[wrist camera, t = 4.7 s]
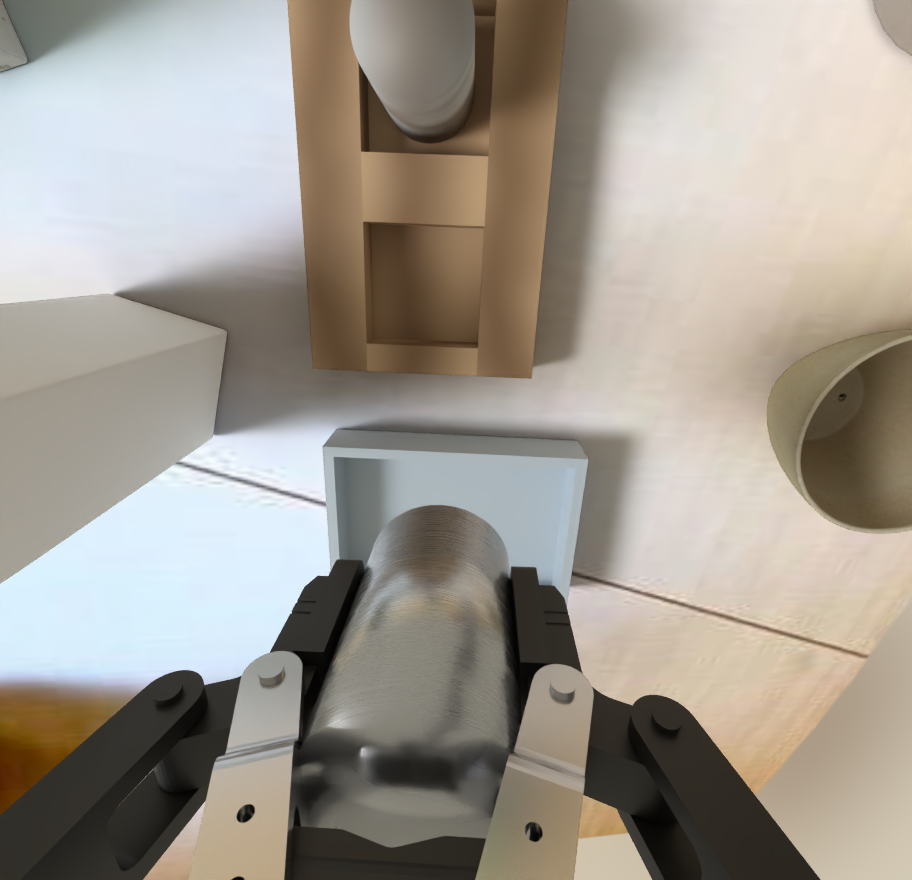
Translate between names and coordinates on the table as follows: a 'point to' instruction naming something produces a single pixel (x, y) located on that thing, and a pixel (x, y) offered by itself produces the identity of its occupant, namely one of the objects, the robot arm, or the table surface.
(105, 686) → the table surface
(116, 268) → the table surface
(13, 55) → the coffee box
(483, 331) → the wooden shaker holder
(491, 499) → the tote
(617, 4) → the table surface
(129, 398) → the milk carton
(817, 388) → the flower pot
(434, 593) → the cylinder
